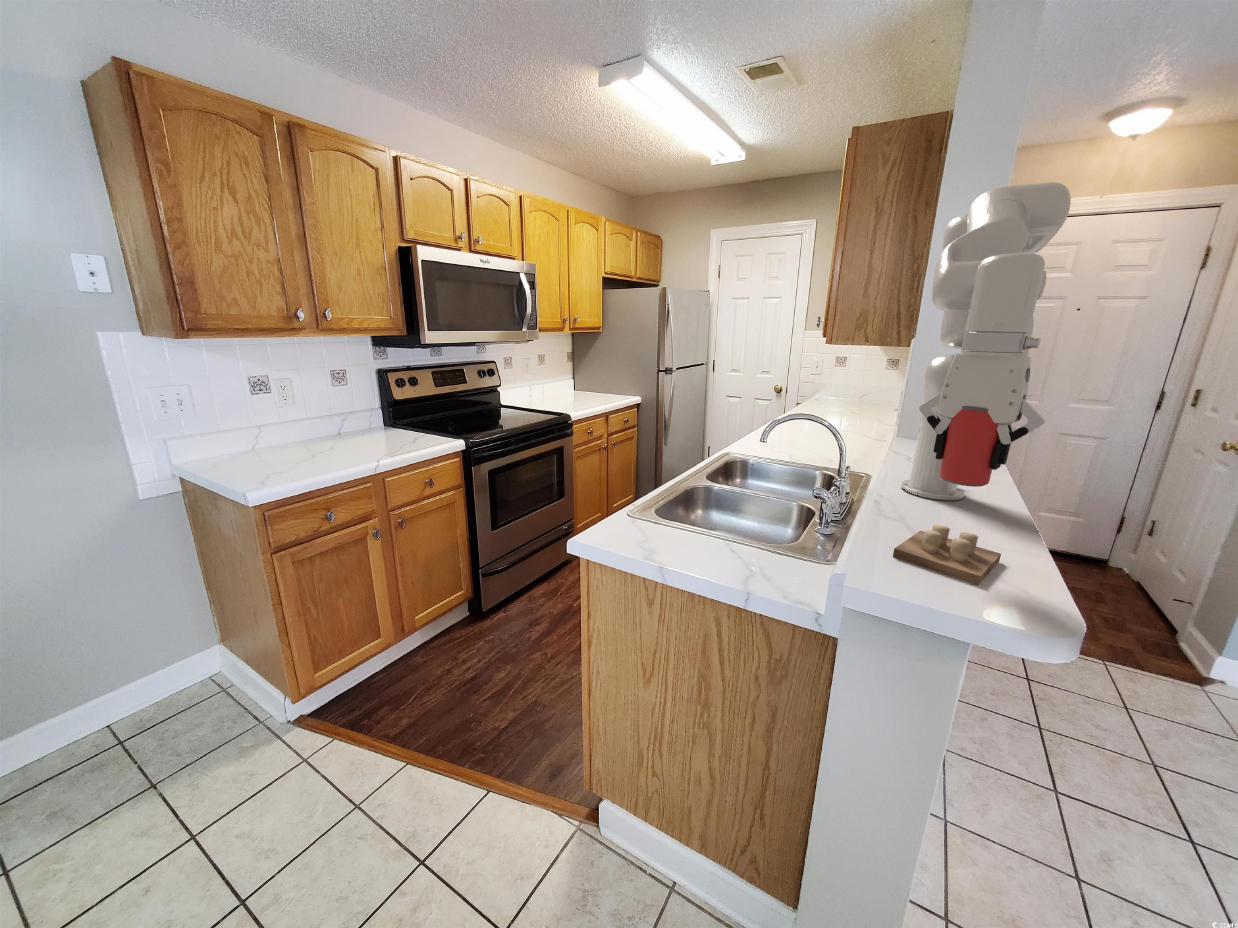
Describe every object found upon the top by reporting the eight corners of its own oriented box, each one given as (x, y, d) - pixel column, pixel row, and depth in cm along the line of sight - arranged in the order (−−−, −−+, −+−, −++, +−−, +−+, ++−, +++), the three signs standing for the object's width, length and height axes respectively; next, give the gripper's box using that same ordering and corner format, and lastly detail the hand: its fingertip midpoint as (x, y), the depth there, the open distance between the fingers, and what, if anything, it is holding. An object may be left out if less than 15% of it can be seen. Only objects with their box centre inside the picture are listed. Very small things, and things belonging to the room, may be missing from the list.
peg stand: (918, 538, 89) (923, 515, 88) (999, 561, 80) (1005, 536, 79) (892, 556, 81) (897, 531, 80) (978, 585, 72) (984, 557, 71)
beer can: (990, 490, 73) (1009, 411, 69) (938, 482, 76) (954, 406, 73) (986, 480, 78) (1004, 405, 75) (938, 473, 81) (952, 401, 78)
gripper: (1075, 347, 67) (1043, 471, 72) (935, 343, 80) (915, 449, 85) (1066, 348, 63) (1032, 480, 67) (918, 343, 75) (898, 455, 80)
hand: (967, 461), depth 76 cm, fingers closed on beer can, 6 cm apart
